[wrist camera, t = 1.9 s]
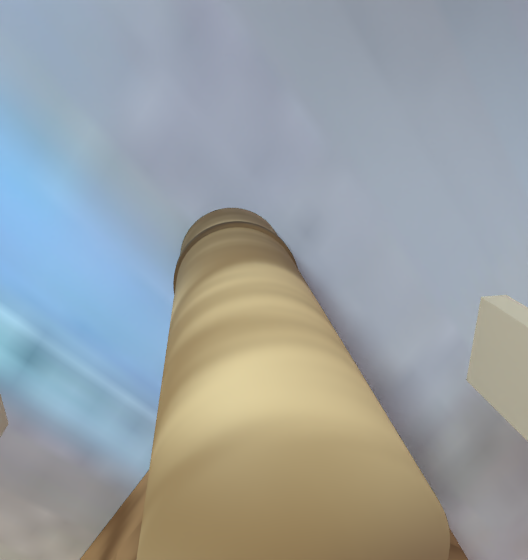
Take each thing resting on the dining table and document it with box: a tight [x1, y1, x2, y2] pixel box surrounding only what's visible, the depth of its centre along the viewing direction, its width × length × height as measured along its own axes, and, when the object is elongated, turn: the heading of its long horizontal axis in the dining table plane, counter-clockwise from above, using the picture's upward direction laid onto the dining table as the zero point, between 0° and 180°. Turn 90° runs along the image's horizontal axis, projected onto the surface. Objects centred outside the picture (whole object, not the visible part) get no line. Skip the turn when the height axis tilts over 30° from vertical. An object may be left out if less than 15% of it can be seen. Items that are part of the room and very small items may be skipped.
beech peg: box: [136, 208, 450, 560], centre depth 12 cm, size 5×5×14 cm
